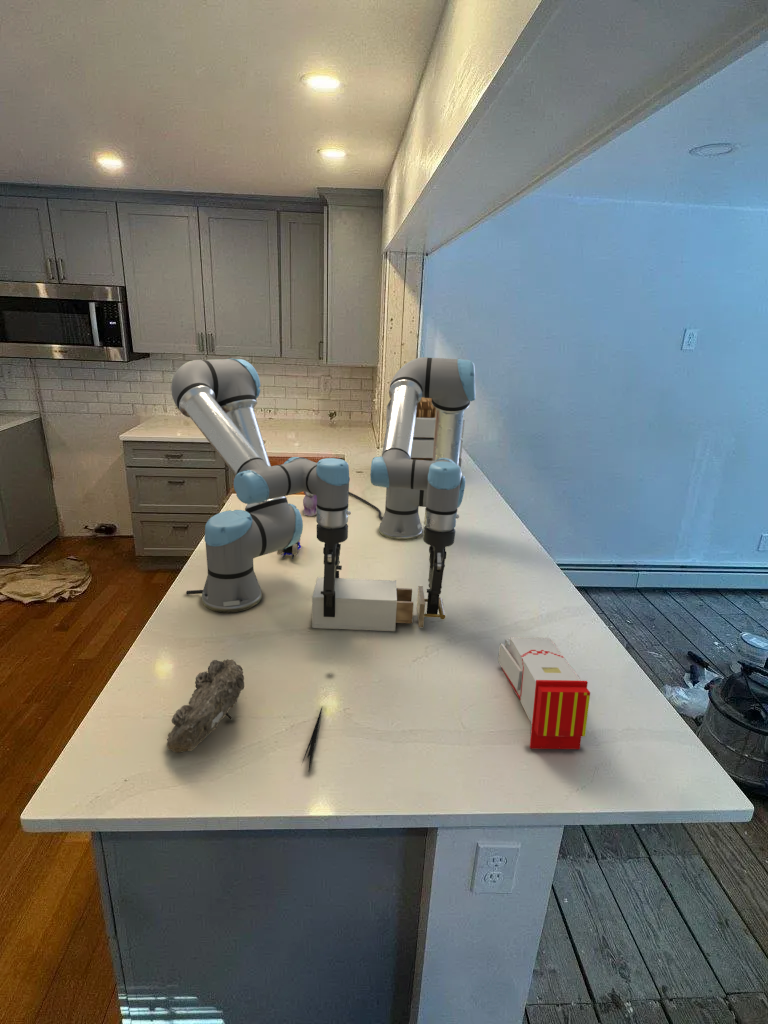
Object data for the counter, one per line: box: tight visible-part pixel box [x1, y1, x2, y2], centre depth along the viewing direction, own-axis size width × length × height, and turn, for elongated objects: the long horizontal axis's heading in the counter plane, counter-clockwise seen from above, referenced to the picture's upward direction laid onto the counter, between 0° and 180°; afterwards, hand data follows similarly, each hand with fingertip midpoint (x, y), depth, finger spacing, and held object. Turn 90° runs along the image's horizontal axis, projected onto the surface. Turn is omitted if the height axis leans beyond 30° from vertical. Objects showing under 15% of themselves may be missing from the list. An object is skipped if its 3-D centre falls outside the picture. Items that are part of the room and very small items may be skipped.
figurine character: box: [276, 538, 302, 560], centre depth 180 cm, size 7×8×15 cm
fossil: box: [166, 658, 245, 754], centre depth 106 cm, size 22×10×15 cm
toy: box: [497, 636, 591, 750], centre depth 115 cm, size 12×13×30 cm
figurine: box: [302, 492, 317, 517], centre depth 214 cm, size 9×10×15 cm
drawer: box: [396, 585, 447, 628], centre depth 143 cm, size 24×10×6 cm, turn 90°
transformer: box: [385, 397, 465, 469], centre depth 268 cm, size 34×33×41 cm
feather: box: [301, 673, 332, 771], centre depth 108 cm, size 2×28×2 cm
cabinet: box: [311, 576, 397, 632], centre depth 143 cm, size 20×11×8 cm, turn 90°
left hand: (331, 604), depth 143 cm, fingers closed on cabinet, 11 cm apart
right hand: (432, 613), depth 144 cm, fingers closed
